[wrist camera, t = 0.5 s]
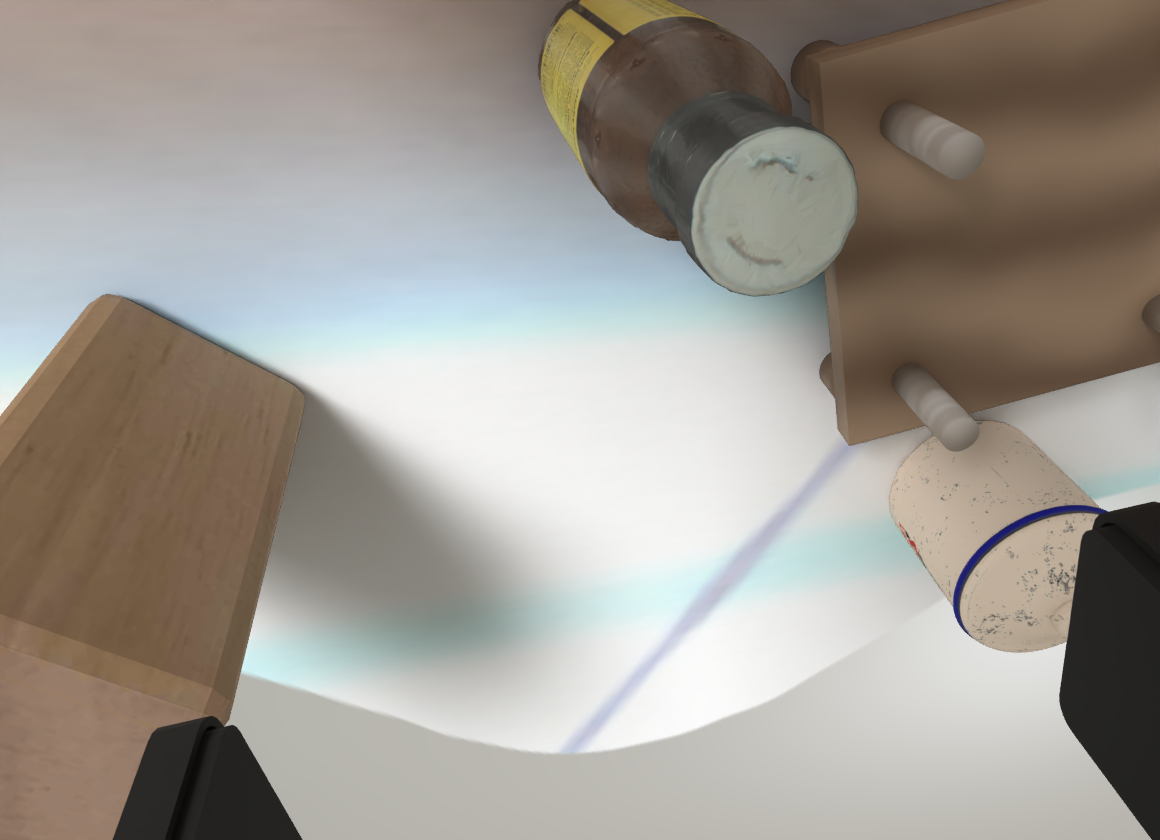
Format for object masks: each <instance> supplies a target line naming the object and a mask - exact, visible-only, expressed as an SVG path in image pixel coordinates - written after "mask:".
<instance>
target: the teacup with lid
mask: <svg viewBox="0 0 1160 840" xmlns="http://www.w3.org/2000/svg"><path fill="white" fill-rule="evenodd" d="M976 423H977V424H978V425H979V428H980V433H979V436H978V438H977V440H976V441H975V442H974V443H973V444H972V445H971V446H970V447H968V448H967V449H965V450H962V451H957V452H954V451H950V450H948V449H946V448H945V447H944V446H943V444H942V443H941V442H940V441H939V440H938V439H937V438H936V436H935V435H934V436H932V437H931V438H929V439H928V440H926V441H925V442H923V443H922V444H921V445H920V446H919V447H917V448H916V449H915V450H914V451H913V452H912V453H911V454H910V455H909V456H908V458H907V459H906V460H905V461H904V463H903V464H902V466H901V467H900V469H899V470H898V472H897V474H896V476H895V478H894V481H893V484H892V487H891V491H890V498H889V504H890V512H891V515H892V518H893V520H894V522H895V524H896V526H897V527H898V529H899V530H900V532H901V533H902V535H903V536H904V537H905V539H906V540H907V542H908V543H909V545H910V546H911V547H912V549H913V550H914V552H915V553H916V555H917V556H918V557H919V559H920V560H921V562H922V563H923V565H924V566H925V568H926V569H927V570H928V572H929V573H930V575H931V576H932V578H933V579H934V580H935V582H936V583H937V585H938V586H939V588H940V589H941V591H942V592H943V593H944V595H945V596H946V598H947V599H948V601H949V602H950V603H951V605H952V606H953V608H954V613H955V617H956V619H957V621H958V623H959V625H960V626H961V628H962V629H963V630H964V631H965V632H966V633H967V634H968V635H969V636H971V637H972V638H974V639H975V640H976V641H978V642H979V643H981V644H983V645H986V646H988V647H990V648H993V649H996V650H1000V651H1006V652H1032V651H1038V650H1043V649H1047V648H1050V647H1053V646H1056V645H1059V644H1062V643H1064V642H1067V637H1068V630H1069V623H1070V615H1071V608H1072V601H1073V594H1074V587H1075V579H1076V572H1077V565H1078V558H1079V551H1080V544H1081V539H1082V535H1083V534H1084V533H1085V532H1086V531H1088V530H1092V527H1093V524H1094V521H1095V519H1096V518H1097V516H1098V515H1099V514H1102V513H1106V512H1108V511H1106V510H1103V509H1101V508H1099V506H1098V505H1097V504H1096V503H1095V502H1094V501H1093V500H1092V499H1091V498H1089V497H1088V496H1087V495H1086V494H1085V493H1084V492H1083V491H1082V490H1081V489H1080V488H1079V487H1078V486H1077V485H1076V484H1075V483H1074V482H1073V481H1072V480H1071V479H1070V478H1069V477H1068V476H1067V475H1066V474H1065V473H1064V472H1063V471H1062V470H1061V469H1060V468H1059V467H1057V466H1056V465H1055V464H1054V463H1053V462H1052V461H1051V460H1050V459H1049V458H1048V457H1047V456H1046V455H1045V454H1044V453H1043V452H1042V451H1041V450H1040V449H1039V448H1038V447H1037V446H1036V445H1035V444H1034V443H1033V442H1032V441H1031V440H1030V439H1029V438H1028V437H1027V436H1025V435H1024V434H1023V433H1022V432H1021V431H1019V430H1018V429H1016V428H1014V427H1012V426H1010V425H1008V424H1005V423H1001V422H996V421H976Z"/></svg>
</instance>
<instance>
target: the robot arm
mask: <svg viewBox="0 0 1160 840" xmlns="http://www.w3.org/2000/svg"><path fill="white" fill-rule="evenodd" d="M1059 697H1060V700H1059V701H1060V706H1061V710H1062V713H1063V716H1064V718H1065V720H1066V723H1067V724H1068V726H1069V728H1070V729H1071V731H1072V732H1073V734H1074V735H1075V736H1076V738H1077V739H1078V741H1079V742H1080V743H1081V744H1082V746H1083V747H1084V749H1085V750H1086V751H1087V753H1088V754H1089V755H1090V757H1091V758H1092V759H1093V761H1094V762H1095V763H1096V765H1097V766H1098V768H1099V769H1100V770H1101V772H1102V773H1103V774H1104V776H1105V777H1106V778H1107V780H1108V781H1109V782H1110V784H1111V785H1112V786H1113V788H1114V789H1115V790H1116V792H1117V793H1118V795H1119V796H1120V797H1121V798H1122V800H1123V801H1124V803H1125V804H1126V805H1127V807H1128V808H1129V809H1130V811H1131V812H1132V813H1133V815H1134V816H1135V817H1136V819H1137V820H1138V822H1139V823H1140V824H1141V826H1142V827H1143V828H1144V830H1145V831H1146V832H1147V834H1148V835H1149V836H1150V838H1151V839H1152V840H1160V503H1158V502H1150V503H1146V504H1141V505H1137V506H1132V507H1128V508H1123V509H1119V510H1114V511H1110V512H1106V513H1102V514H1099V515H1098V516H1097V518H1096V519H1095V521H1094V524H1093V527H1092V530H1088V531H1086V532H1085V533H1084V534H1083V535H1082V539H1081V544H1080V551H1079V558H1078V565H1077V572H1076V579H1075V587H1074V594H1073V601H1072V608H1071V615H1070V623H1069V630H1068V637H1067V644H1066V651H1065V659H1064V666H1063V673H1062V681H1061V687H1060V694H1059ZM113 840H302V838H301V836H300V835H299V833H298V831H297V830H296V828H295V826H294V824H293V822H292V821H291V819H290V818H289V816H288V814H287V812H286V810H285V809H284V807H283V805H282V803H281V802H280V800H279V798H278V797H277V795H276V793H275V792H274V789H273V788H272V786H271V784H270V783H269V781H268V779H267V777H266V776H265V774H264V772H263V771H262V769H261V767H260V765H259V763H258V762H257V760H256V758H255V757H254V755H253V753H252V751H251V750H250V748H249V747H248V744H247V743H246V741H245V739H244V738H243V736H242V734H241V732H240V731H239V730H238V728H237V727H235V726H234V725H230V726H226V727H224V726H223V724H222V723H221V722H220V721H219V719H218V718H216V717H214V716H208V717H203V718H199V719H194V720H190V721H186V722H181V723H177V724H172V725H168V726H163V727H159V728H157V729H156V730H155V731H154V732H153V733H152V734H151V736H150V738H149V740H148V742H147V745H146V748H145V751H144V753H143V756H142V759H141V762H140V765H139V767H138V770H137V773H136V776H135V778H134V781H133V784H132V787H131V790H130V792H129V795H128V798H127V801H126V803H125V806H124V809H123V812H122V814H121V817H120V820H119V823H118V826H117V828H116V831H115V834H114V837H113Z"/></svg>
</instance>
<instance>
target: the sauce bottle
mask: <svg viewBox="0 0 1160 840" xmlns="http://www.w3.org/2000/svg"><path fill="white" fill-rule="evenodd" d="M538 70H539V74H538V75H539V79H540V80H541V84H542V91H543V95H544V99H545V102H546V104H547V107H548V110H549V112H550V114H551V116H552V118H553V119H554V121H555V123H556V124H557V126H558V128H559V129H560V131H561V133H562V134H563V136H564V137H565V139H566V141H567V142H568V144H569V145H570V147H571V149H572V151H573V152H574V154H575V156H576V157H577V159H578V161H579V162H580V164H581V166H582V167H583V169H584V170H585V172H586V174H587V175H588V177H589V179H590V180H591V182H592V183H593V185H594V186H595V187H596V189H597V190H598V191H599V192H600V193H601V194H602V195H603V196H604V197H605V199H606V200H607V202H608V203H609V205H610V206H611V207H612V209H613V210H615V211H616V213H618V214H619V215H621V216H622V217H623V218H625V220H626V221H628V222H629V223H630V224H632V225H633V226H634V227H638V228H640V229H641V230H642V231H644V232H646V233H648V234H651V235H653V236H656V237H659V238H664V239H666V240H668V241H670V240H672V241H681V242H682V243H683V245H684V246H685V248H686V251H687V253H688V254H689V255H690V257H691V258H692V259H693V260H694V261H695V263H696V264H697V265H698V266H699V267H700V268H701V269H702V270H703V271H704V272H705V273H706V274H707V275H708V276H709V277H710V278H711V279H712V280H713V281H714V282H715V283H717V284H718V285H720V286H722V287H724V288H726V289H728V290H729V291H731V292H735V293H739V294H743V295H748V296H766V295H774V294H780V293H784V292H787V291H789V290H792V289H794V288H797V287H801V286H803V285H805V284H807V283H809V282H810V281H811V280H813V279H814V278H815V277H817V276H818V275H819V274H821V273H822V272H823V271H824V270H826V268H827V267H828V266H829V265H830V264H831V263H832V261H833V260H834V259H835V258H836V257H837V255H838V254H839V253H840V252H841V250H842V248H843V246H844V243H845V241H846V239H847V236H848V234H849V232H850V230H851V228H852V226H853V225H854V223H855V221H856V216H857V211H858V186H857V182H856V178H855V172H854V168H853V165H852V163H851V162H850V160H849V158H848V157H847V155H846V153H845V152H844V150H843V149H842V148H841V147H840V146H839V145H838V144H837V143H836V142H835V141H834V140H833V139H832V138H831V137H830V136H828V135H826V134H825V133H823V132H822V131H820V130H819V129H817V128H816V127H814V126H812V125H810V124H808V123H806V122H804V121H802V120H800V119H798V118H795V117H792V111H791V100H790V97H789V92H788V90H787V88H786V85H785V82H784V81H783V80H782V78H781V77H780V75H779V74H778V72H777V71H776V70H775V68H774V67H773V66H772V64H771V63H770V62H769V61H768V60H767V59H766V58H765V57H764V55H763V54H762V53H761V52H760V51H758V50H757V49H756V48H755V47H754V46H753V45H751V44H750V43H749V42H747V41H745V40H743V39H742V38H740V37H738V36H737V35H735V34H734V33H733V32H731V31H730V30H728V29H727V28H725V27H724V26H722V25H720V24H718V23H716V22H714V21H712V20H709V19H707V18H705V17H702V16H700V15H698V14H696V13H694V12H691V11H689V10H687V9H684V8H682V7H680V6H678V5H676V4H673V3H671V2H669V1H667V0H573V1H571V2H569V3H568V4H567V5H565V6H564V8H563V9H562V10H561V11H560V12H559V13H558V15H557V16H556V18H555V20H554V22H553V23H552V25H551V27H550V29H549V30H548V32H547V35H546V38H545V40H544V43H543V46H542V50H541V53H540V58H539V65H538Z"/></svg>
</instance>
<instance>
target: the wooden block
mask: <svg viewBox="0 0 1160 840" xmlns="http://www.w3.org/2000/svg"><path fill="white" fill-rule="evenodd" d="M304 403H305V398H304V396H303V394H302V393H301V392H300V391H299V390H298V389H297V388H296V387H295V386H294V385H293V384H291V383H289V382H287V381H285V380H283V379H281V378H279V377H278V376H276V375H274V374H272V373H270V372H268V371H266V370H264V369H262V368H260V367H258V366H256V365H254V364H252V363H250V362H248V361H246V360H245V359H243V358H241V357H239V356H237V355H235V354H233V353H231V352H229V351H227V350H225V349H223V348H221V347H219V346H217V345H215V344H213V343H212V342H210V341H208V340H206V339H204V338H202V337H200V336H198V335H196V334H194V333H192V332H190V331H188V330H186V329H184V328H182V327H180V326H178V325H177V324H175V323H173V322H171V321H169V320H167V319H165V318H163V317H161V316H159V315H157V314H155V313H153V312H151V311H149V310H147V309H145V308H144V307H142V306H140V305H138V304H136V303H134V302H132V301H130V300H128V299H126V298H124V297H120V296H115V295H111V294H106V295H102V296H101V297H99V298H98V299H96V300H95V301H93V302H92V303H90V304H89V305H88V306H87V307H86V308H85V310H84V311H83V312H82V313H81V315H80V316H79V317H78V318H77V320H76V321H75V322H74V323H73V325H72V326H71V327H70V329H69V330H68V331H67V332H66V334H65V335H64V336H63V337H62V339H61V340H60V341H59V342H58V344H57V345H56V346H55V348H54V349H53V350H52V351H51V353H50V354H49V355H48V356H47V358H46V359H45V360H44V361H43V363H42V364H41V365H40V367H39V368H38V369H37V370H36V372H35V373H34V374H33V375H32V377H31V378H30V379H29V380H28V382H27V383H26V384H25V386H24V387H23V388H22V389H21V391H20V392H19V393H18V394H17V396H16V397H15V398H14V399H13V401H12V402H11V403H10V405H9V406H8V407H7V408H6V410H5V411H4V412H3V413H2V415H1V416H0V840H113V837H114V834H115V831H116V828H117V826H118V823H119V820H120V817H121V814H122V812H123V809H124V806H125V803H126V801H127V798H128V795H129V792H130V790H131V787H132V784H133V781H134V778H135V776H136V773H137V770H138V767H139V765H140V762H141V759H142V756H143V753H144V751H145V748H146V745H147V742H148V740H149V738H150V736H151V734H152V733H153V732H154V731H155V730H156V729H157V728H159V727H163V726H168V725H172V724H177V723H181V722H186V721H190V720H194V719H199V718H203V717H208V716H214V717H216V718H218V719H219V721H220V722H221V723H222V724H223V726H225V724H226V723H227V722H228V720H229V718H230V714H231V710H232V705H233V702H234V698H235V693H236V689H237V685H238V681H239V676H240V673H241V669H242V664H243V660H244V656H245V652H246V648H247V644H248V640H249V635H250V631H251V627H252V623H253V619H254V615H255V611H256V606H257V602H258V598H259V594H260V590H261V586H262V582H263V577H264V573H265V569H266V565H267V561H268V557H269V553H270V549H271V544H272V540H273V536H274V532H275V528H276V524H277V520H278V515H279V511H280V507H281V503H282V499H283V495H284V491H285V486H286V482H287V478H288V474H289V470H290V466H291V462H292V457H293V453H294V449H295V445H296V441H297V437H298V433H299V428H300V424H301V420H302V416H303V411H304Z"/></svg>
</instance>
